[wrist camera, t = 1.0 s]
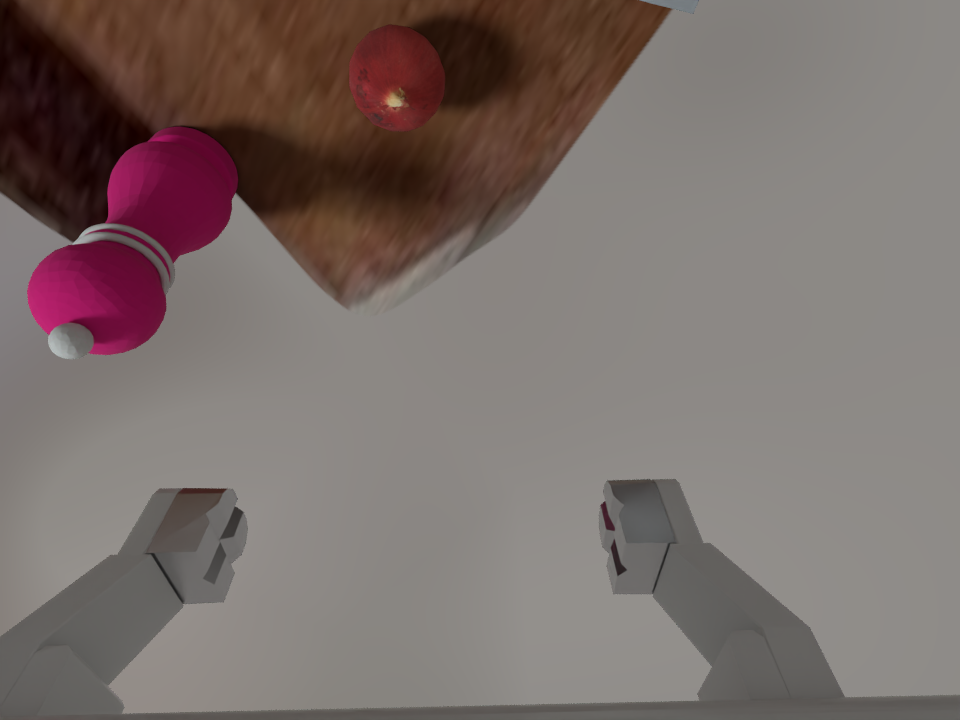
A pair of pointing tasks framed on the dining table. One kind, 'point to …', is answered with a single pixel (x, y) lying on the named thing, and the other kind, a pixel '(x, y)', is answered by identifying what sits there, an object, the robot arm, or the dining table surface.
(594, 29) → the dining table surface
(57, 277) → the pepper mill
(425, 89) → the onion
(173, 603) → the robot arm
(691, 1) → the stand
